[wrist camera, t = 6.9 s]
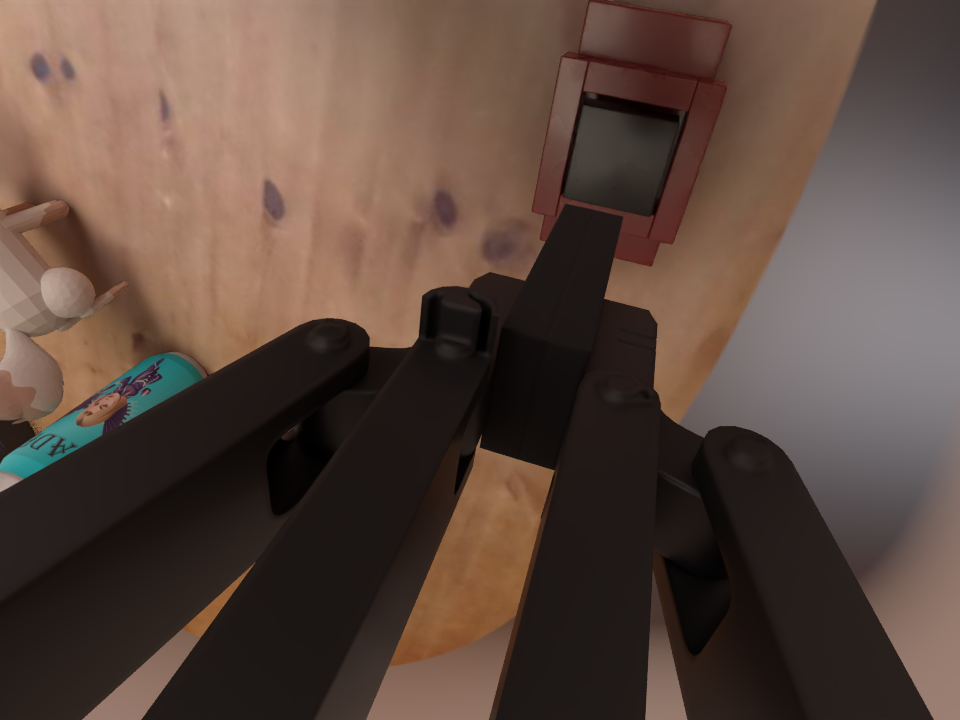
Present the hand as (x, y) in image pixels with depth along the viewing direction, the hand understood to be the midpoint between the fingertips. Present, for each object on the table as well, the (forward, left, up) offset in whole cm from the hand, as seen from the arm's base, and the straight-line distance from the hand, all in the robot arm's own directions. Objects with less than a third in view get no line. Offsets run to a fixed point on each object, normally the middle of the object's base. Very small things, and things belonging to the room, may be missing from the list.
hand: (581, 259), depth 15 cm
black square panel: (0, 0, -13) cm, 13 cm away
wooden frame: (0, 0, -17) cm, 17 cm away
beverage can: (+37, -12, -17) cm, 43 cm away
